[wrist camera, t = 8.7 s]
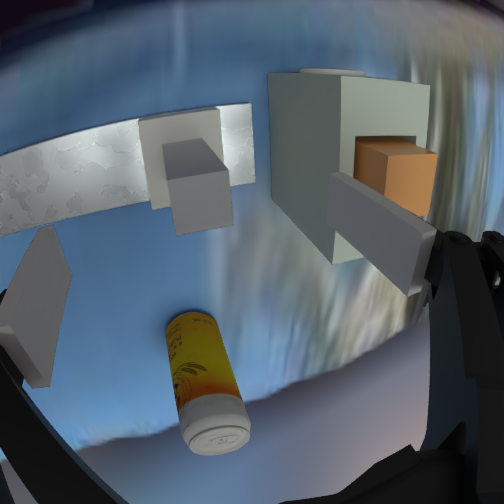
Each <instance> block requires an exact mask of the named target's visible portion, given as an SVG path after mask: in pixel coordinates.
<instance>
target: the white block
mask: <svg viewBox="0 0 504 504" xmlns="http://www.w3.org/2000/svg"><path fill="white" fill-rule="evenodd" d="M299 72H300V73H267V80H268V102H269V127H270V154H271V185H272V200H273V201H274V202H275V203H276V204H277V205H278V206H279V207H280V208H281V209H282V210H283V211H284V213H285V214H286V215H287V216H288V217H289V218H290V219H291V220H292V221H293V222H294V223H295V224H296V225H297V226H298V228H299V229H300V230H301V231H302V232H303V233H304V234H305V235H306V236H307V237H308V238H309V240H310V241H311V242H312V243H313V244H314V245H315V246H316V247H317V248H318V249H319V251H320V252H321V253H322V254H323V255H324V256H325V257H326V258H327V259H328V261H329V262H330V263H331V264H332V265H334V264H338V263H342V262H346V261H350V260H354V259H358V258H362V257H364V256H363V255H362V254H361V253H360V252H359V251H358V250H357V249H355V248H354V247H353V246H352V245H351V244H350V243H349V242H348V241H346V240H345V239H344V238H343V237H342V236H341V235H340V234H339V233H337V232H336V231H335V230H334V229H333V228H332V227H330V226H329V225H328V224H327V207H328V185H329V173H335V172H343V173H345V174H347V175H349V176H351V177H352V178H353V170H354V152H355V136H394V137H396V138H399V139H402V140H404V141H407V142H410V143H412V144H415V145H417V146H420V147H422V148H426V138H427V127H428V113H429V94H430V86H429V85H423V84H418V83H412V82H405V81H399V80H391V79H384V78H375V77H366V76H365V72H364V71H353V70H338V69H313V68H299Z"/></svg>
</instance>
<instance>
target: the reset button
mask: <svg viewBox="0 0 504 504" xmlns="http://www.w3.org/2000/svg"><path fill="white" fill-rule="evenodd" d="M436 162H437V153H434V152H432V151H430V150H427V149H425V148H422V147H420V146H417V145H415V144H412V143H410V142H407V141H404V140H402V139H399V138H396V137H394V136H355V152H354V170H353V178H354V179H356V180H358V181H359V182H361V183H363V184H365V185H366V186H368V187H370V188H372V189H373V190H375V191H377V192H378V193H380V194H382V195H383V196H385V197H387V198H388V199H390V200H392V201H393V202H395V203H397V204H398V205H400V206H401V207H403V208H405V209H406V210H408V211H410V212H412V213H414V214H415V215H417V216H423V215H428V212H429V206H430V201H431V195H432V189H433V183H434V176H435V169H436Z"/></svg>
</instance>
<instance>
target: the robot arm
mask: <svg viewBox="0 0 504 504" xmlns="http://www.w3.org/2000/svg"><path fill="white" fill-rule="evenodd" d="M327 224H328V225H329V226H330V227H332V228H333V229H334V230H335V231H336V232H337V233H339V234H340V235H341V236H342V237H343V238H344V239H345V240H346V241H348V242H349V243H350V244H351V245H352V246H353V247H354V248H355V249H357V250H358V251H359V252H360V253H361V254H362V255H363V256H364V257H365V258H367V259H368V260H369V261H370V262H371V263H372V264H373V265H374V266H375V267H376V268H377V269H379V270H380V271H381V272H382V273H383V274H384V275H385V276H386V277H387V278H388V279H389V280H390V281H391V282H392V283H393V284H395V285H396V286H397V287H398V288H399V289H400V290H401V291H402V292H403V293H404V294H405V295H406V296H410V295H412V294H415V293H417V292H420V291H421V289H422V285H423V282H424V278H425V279H426V280H428V281H429V282H430V286H429V289H428V292H427V295H426V298H425V301H424V305H423V306H424V307H426V304H427V303H428V302H429V320H430V386H429V388H430V389H429V405H428V420H427V430H426V435H425V439H424V441H423V443H422V446H421V448H420V451H415V450H414V449H413V447H412V446H411V444H410V445H408V446H406V447H404V448H403V449H401V450H399V451H398V452H396V453H394V454H392V455H390V456H389V457H387V458H385V459H383V460H381V461H379V462H377V463H375V464H374V465H373V466H372V467H370V468H369V469H368V470H367V471H366V472H364V473H363V474H362V475H361V476H360V477H358V478H357V479H356V480H355V481H354V482H352V483H351V484H350V485H348V486H347V487H346V488H345V489H343V490H342V491H340V492H339V493H337V494H333V495H328V496H322V497H315V498H309V499H302V500H293V501H285V502H282V503H279V504H504V236H503V235H501V234H500V233H498V232H496V231H485V232H483V235H482V238H481V242H473V241H472V240H471V239H470V238H469V237H468V236H466V235H464V234H462V233H459V232H456V231H447V232H445V233H442V232H441V231H439V230H438V229H436V228H435V227H433V226H432V225H430V224H429V223H427V222H426V221H424V220H423V219H421V218H420V217H418V216H417V215H415V214H414V213H412V212H410V211H408V210H406V209H405V208H403V207H401V206H400V205H398V204H397V203H395V202H393V201H392V200H390V199H388V198H387V197H385V196H383V195H382V194H380V193H378V192H377V191H375V190H373V189H372V188H370V187H368V186H366V185H365V184H363V183H361V182H359V181H358V180H356V179H354V178H352V177H351V176H349V175H347V174H345V173H343V172H335V173H329V185H328V207H327ZM498 275H500V284H499V287H498V288H497V287H496V286H495V282H496V280H497V277H498ZM71 277H72V275H71V273H70V270H69V267H68V265H67V262H66V259H65V257H64V254H63V251H62V248H61V245H60V243H59V240H58V237H57V234H56V231H55V228H54V225H50V226H46V227H43V228H39V230H38V231H37V233H36V235H35V237H34V238H33V240H32V242H31V244H30V246H29V247H28V249H27V251H26V253H25V255H24V257H23V259H22V261H21V263H20V265H19V266H18V268H17V270H16V272H15V274H14V276H13V279H12V281H11V283H10V285H9V287H8V289H4V291H3V292H2V293H1V294H0V447H1V449H2V451H3V452H4V454H5V456H6V457H7V459H8V461H9V462H10V464H11V465H12V467H13V469H14V470H15V472H16V473H17V475H18V476H19V477H20V479H21V481H22V482H23V483H24V485H25V486H26V488H27V489H28V490H29V492H30V493H31V495H32V496H33V497H34V499H35V500H36V501H37V503H39V504H129V503H128V502H127V501H125V500H124V499H123V498H122V497H121V496H120V495H118V494H117V493H116V492H115V491H114V490H113V489H112V488H111V487H109V485H107V484H106V483H105V482H104V481H103V480H102V479H101V478H100V477H99V476H98V475H97V474H96V473H95V472H94V471H93V470H92V469H91V468H90V467H89V466H88V465H87V464H86V463H85V462H84V461H83V460H82V459H81V458H80V457H79V456H78V455H77V454H76V453H75V452H74V450H73V449H72V448H71V447H70V446H69V445H68V444H67V443H66V442H65V440H64V439H63V438H62V437H61V436H60V435H59V434H58V432H57V431H56V430H55V429H54V428H53V426H52V425H51V424H50V423H49V421H48V420H47V419H46V418H45V416H44V415H43V414H42V413H41V411H40V410H39V409H38V407H37V406H36V405H35V404H34V402H33V401H32V399H31V398H30V397H29V395H28V394H27V393H26V391H25V390H24V389H23V388H22V384H23V379H25V380H26V381H27V383H28V384H29V385H30V386H31V388H32V389H34V388H43V387H50V385H51V377H52V370H53V363H54V357H55V351H56V345H57V340H58V335H59V329H60V324H61V320H62V315H63V310H64V306H65V301H66V297H67V293H68V289H69V285H70V281H71ZM0 504H15V503H14V500H13V498H12V495H11V493H10V490H9V488H8V485H7V482H6V479H5V477H4V474H3V471H2V468H1V465H0Z"/></svg>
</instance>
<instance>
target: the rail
mask: <svg viewBox="0 0 504 504" xmlns="http://www.w3.org/2000/svg"><path fill="white" fill-rule="evenodd" d="M212 107H216V108H218V109H220V118H221V131H222V143H223V155H224V165H225V166H226V167H227V168H228V170H229V177H230V186H235V185H241V184H248V183H255V166H254V146H253V127H252V108H251V103H248V102H241V103H230V104H220V105H211V106H203V107H195V108H188V109H181V110H174V111H168V112H162V113H156V114H150V115H145V116H140V117H134V118H129V119H125V120H120V121H115V122H111V123H106V124H102V125H98V126H94V127H90V128H86V129H82V130H78V131H74V132H71V133H67V134H63V135H60V136H56V137H53V138H50V139H46V140H43V141H40V142H37V143H34V144H30V145H27V146H24V147H21V148H19V149H16V150H13V151H10V152H7V153H5V154H2V155H0V236H4V235H7V234H11V233H14V232H18V231H21V230H25V229H29V228H33V227H36V226H40V225H44V224H48V223H52V222H56V221H60V220H64V219H68V218H72V217H76V216H80V215H85V214H89V213H93V212H98V211H102V210H107V209H111V208H116V207H120V206H125V205H130V204H135V203H140V202H145V201H150V195H149V190H148V184H147V179H146V173H145V167H144V161H143V155H142V148H141V142H140V135H139V128H138V120H139V119H140V118H145V117H151V116H156V115H162V114H168V113H175V112H181V111H188V110H196V109H203V108H212Z"/></svg>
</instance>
